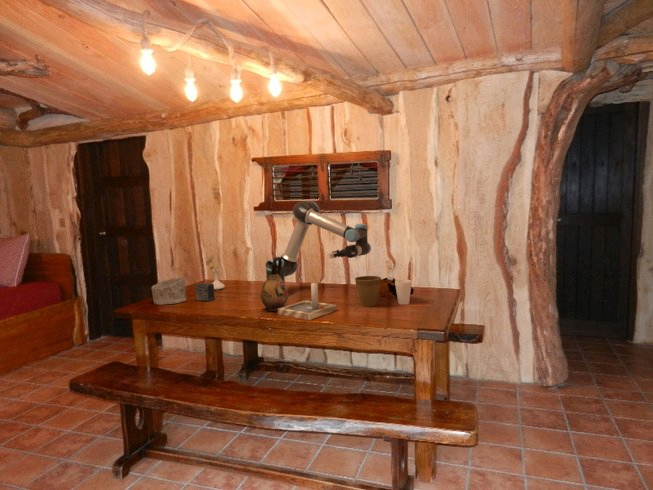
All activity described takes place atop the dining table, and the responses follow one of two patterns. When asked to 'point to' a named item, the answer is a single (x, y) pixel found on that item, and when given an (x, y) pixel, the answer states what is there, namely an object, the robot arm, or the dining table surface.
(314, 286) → the beige peg stand
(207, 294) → the small box
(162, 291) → the petrified wood
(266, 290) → the ceramic jug
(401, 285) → the foam cup
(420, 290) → the dining table surface
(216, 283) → the flower in vase
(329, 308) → the wooden square tray
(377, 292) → the plant pot
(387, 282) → the tool
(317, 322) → the dining table surface
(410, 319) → the dining table surface
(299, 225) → the robot arm
